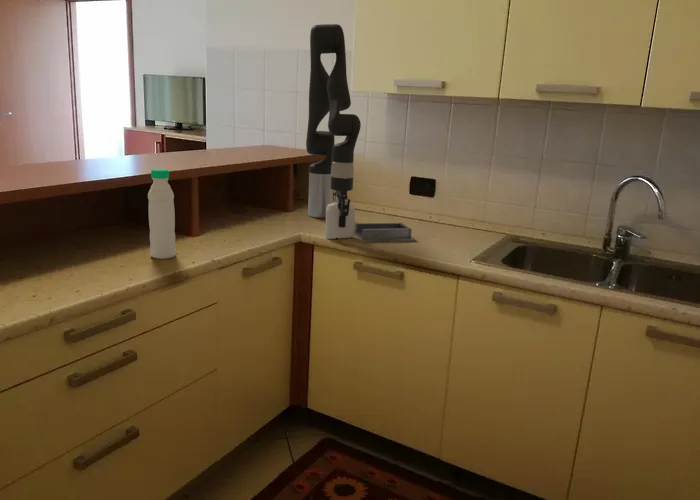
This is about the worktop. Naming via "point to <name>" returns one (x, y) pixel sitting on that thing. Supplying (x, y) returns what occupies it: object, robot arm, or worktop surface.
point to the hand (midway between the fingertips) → (340, 225)
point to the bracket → (383, 232)
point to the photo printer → (333, 222)
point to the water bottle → (161, 216)
